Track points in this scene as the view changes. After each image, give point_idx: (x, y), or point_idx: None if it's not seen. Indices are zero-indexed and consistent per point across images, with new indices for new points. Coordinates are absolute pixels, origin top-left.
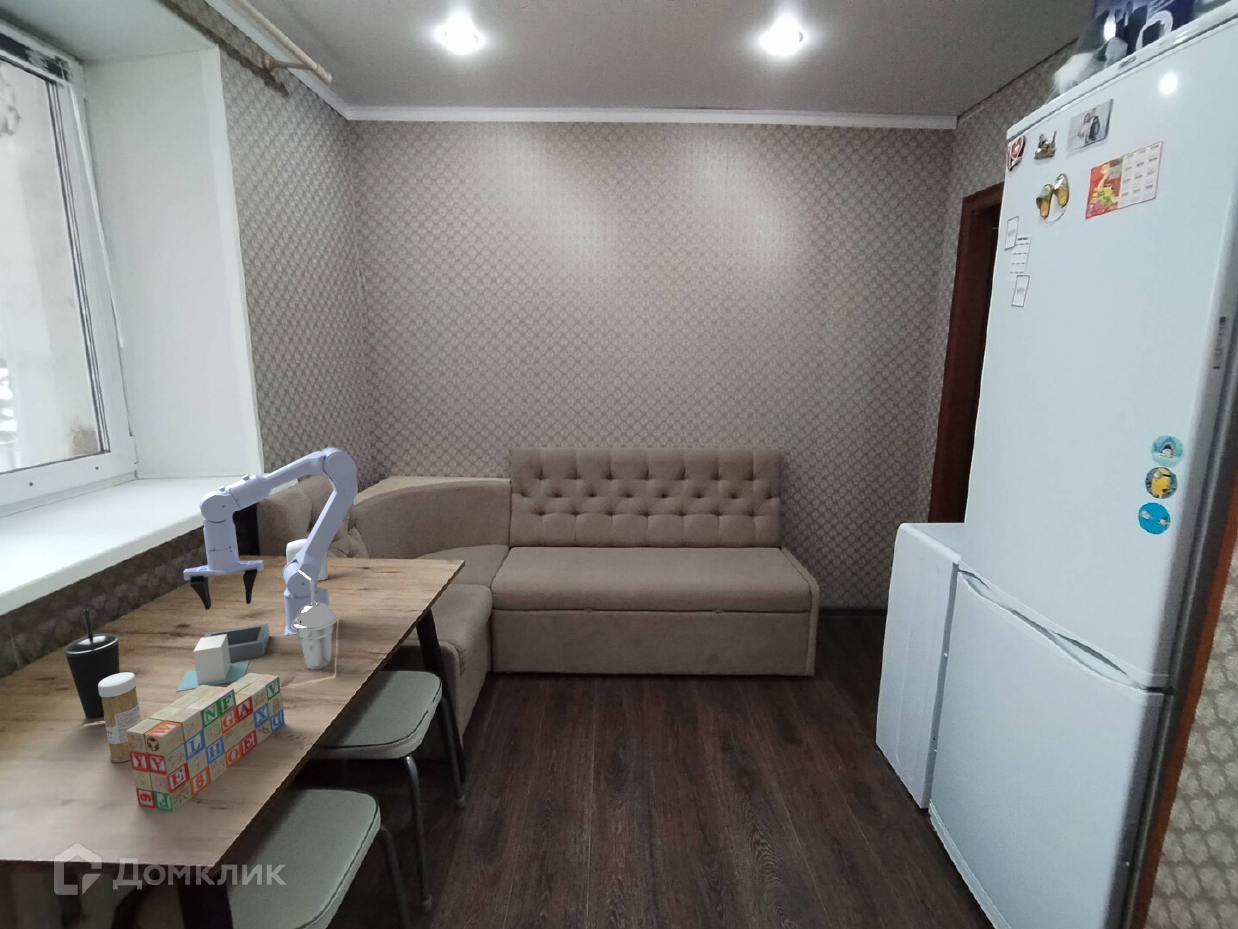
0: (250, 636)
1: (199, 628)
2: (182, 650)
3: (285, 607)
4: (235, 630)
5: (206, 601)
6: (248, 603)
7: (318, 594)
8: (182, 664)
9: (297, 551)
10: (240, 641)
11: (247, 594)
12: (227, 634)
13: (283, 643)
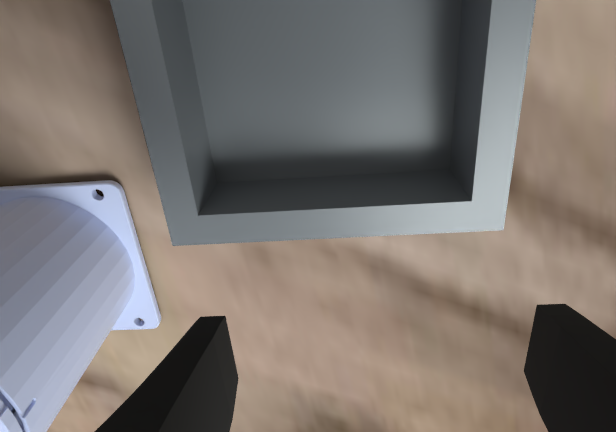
0: (269, 190)
1: (526, 391)
2: (589, 203)
3: (52, 327)
4: (339, 210)
5: (604, 360)
6: (207, 319)
7: None
8: (587, 20)
9: None
10: (320, 179)
11: (166, 384)
12: (382, 198)
13: (100, 111)
